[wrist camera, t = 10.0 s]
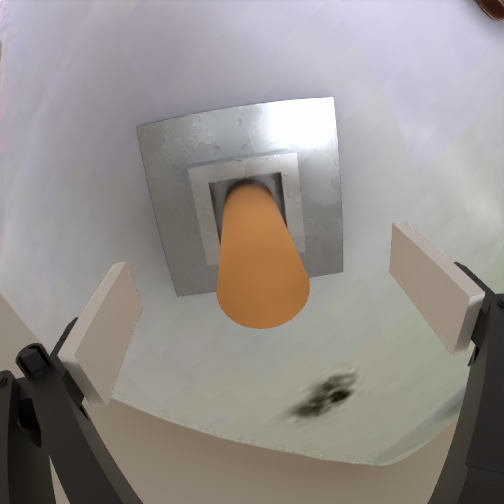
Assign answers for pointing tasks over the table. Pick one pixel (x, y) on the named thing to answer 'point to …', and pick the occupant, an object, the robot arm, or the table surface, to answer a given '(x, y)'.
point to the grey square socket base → (244, 167)
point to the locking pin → (258, 260)
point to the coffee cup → (493, 8)
